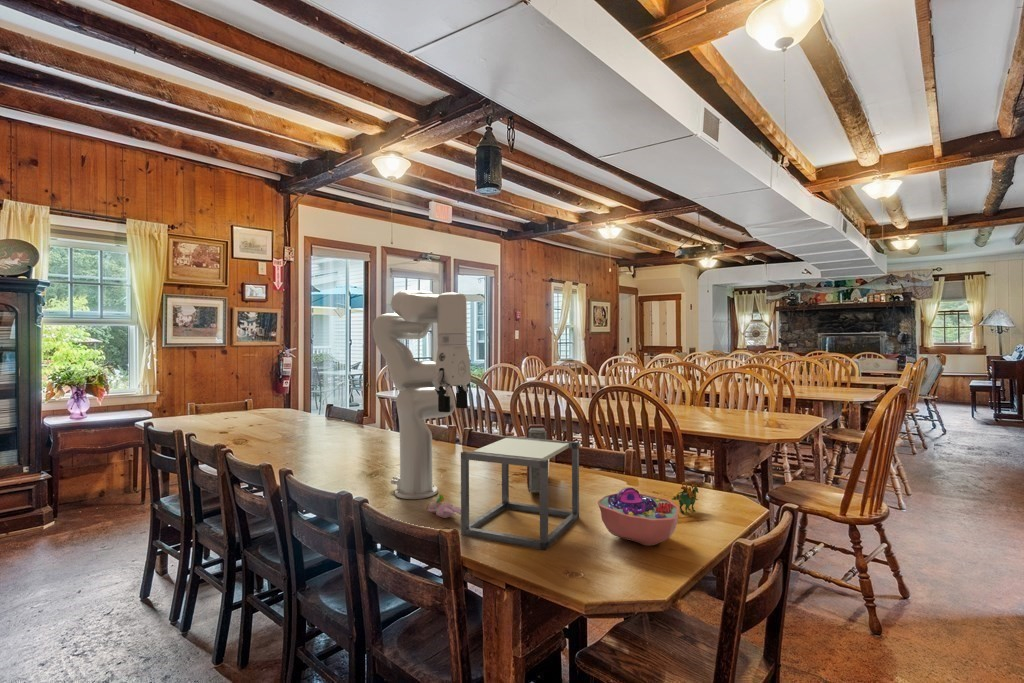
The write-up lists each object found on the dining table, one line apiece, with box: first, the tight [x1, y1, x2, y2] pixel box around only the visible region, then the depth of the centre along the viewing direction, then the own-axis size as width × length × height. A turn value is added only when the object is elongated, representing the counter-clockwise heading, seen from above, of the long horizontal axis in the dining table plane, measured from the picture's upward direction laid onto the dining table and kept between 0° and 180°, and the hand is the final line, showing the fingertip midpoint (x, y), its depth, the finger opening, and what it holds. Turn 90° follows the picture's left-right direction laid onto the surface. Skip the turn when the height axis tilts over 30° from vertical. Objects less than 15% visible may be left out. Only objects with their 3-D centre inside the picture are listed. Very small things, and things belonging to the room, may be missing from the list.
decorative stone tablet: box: [526, 424, 549, 493], centre depth 166 cm, size 19×6×30 cm
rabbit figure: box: [425, 493, 461, 519], centre depth 137 cm, size 6×6×15 cm
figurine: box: [671, 481, 699, 515], centre depth 139 cm, size 3×12×8 cm, turn 128°
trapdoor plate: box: [471, 438, 569, 461], centre depth 130 cm, size 18×19×1 cm
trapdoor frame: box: [460, 435, 580, 551], centre depth 130 cm, size 22×23×20 cm
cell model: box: [597, 487, 680, 547], centre depth 121 cm, size 17×20×11 cm
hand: (453, 409), depth 135 cm, fingers open, 7 cm apart
